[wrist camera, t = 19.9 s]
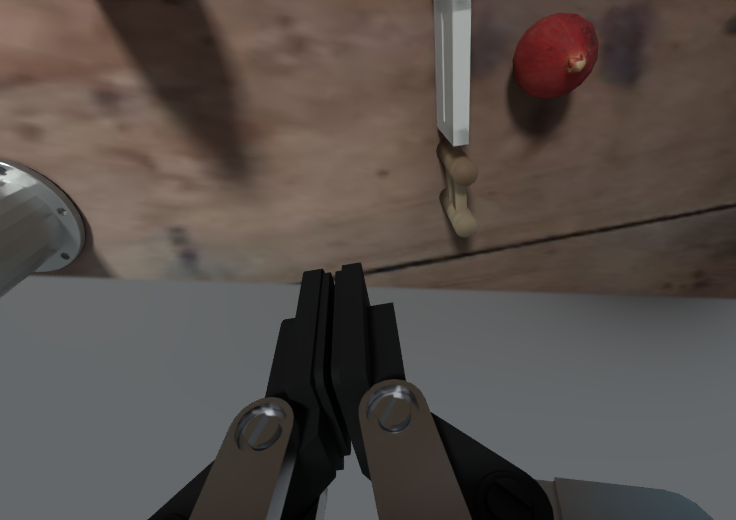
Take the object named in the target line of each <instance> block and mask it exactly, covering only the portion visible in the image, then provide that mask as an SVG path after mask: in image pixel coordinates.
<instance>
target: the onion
mask: <svg viewBox="0 0 736 520" xmlns="http://www.w3.org/2000/svg"><path fill="white" fill-rule="evenodd" d="M597 54H598V39H597V36H596V33H595V30H594V27H593V26H592V24H591V23H589V22H588V21H587V20H585V19H584V18H582V17H581V16H580V15H578V14H568V13H556V14H554V15H551V16H549V17H546V18H543V19H541V20H539V21H538V22H537V23H535V24H534V25H533V26H532V27H531V28H529V29H528V30H527V31H526V32H525V34H524V35H523V37H522V38H521V40H520V41H519V43H518V44H517V47H516V51H515V54H514V58H513V72H514V76H515V78H516V80H517V82H518V84H519V86H520V87H521V88H522V89H523V90H525V91H526V92H527V93H529V94H530V95H531V96H534V97H541V98H547V99H551V98H554V97H558V96H561V95H565V94H568V93H569V92H571V91H572V90H573V89H575V88H576V87H578V86H579V85H581V84H582V82H583V81H584V80H585V79H586V78H587V76H588V75H589V74H590V73H591V71H592V69H593V67H594V65H595V62H596V60H597Z"/></svg>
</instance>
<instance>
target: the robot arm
mask: <svg viewBox="0 0 736 520" xmlns="http://www.w3.org/2000/svg"><path fill="white" fill-rule="evenodd" d="M84 244H85V230H84V225H83V222H82V219H81V217H80V214H79V213H78V211H77V210H76V208H75V206H74V205H73V203H72V202H71V201H70V200H69V199H68V197H67V196H66V195H65V194H64V193H63V192H62V191H61V190H60V189H59V188H58V187H57V186H56V185H54V184H53V183H52V182H51V181H49V180H48V179H46V178H45V177H43V176H42V175H41V174H39V173H37V172H35V171H33V170H32V169H30V168H28V167H26V166H23V165H21V164H18V163H16V162H13V161H10V160H6V159H2V158H0V298H1V297H2V296H4V295H5V294H6V293H7V292H9V291H10V290H11V289H12V288H14V287H15V286H16V285H17V284H18V283H20V282H21V281H22V280H24V279H25V278H26V277H27V276H29V275H30V274H31V273H32V272H49V271H54V270H58V269H61V268H63V267H65V266H67V265H68V264H70V263H71V262H72V261H73V260H74V259H75V258H77V256H78V255H79V254H80V253H81V251H82V249H83V246H84ZM351 441H352V444H353V447H354V450H355V453H356V456H357V459H358V462H359V465H360V468H361V471H362V473H363V474H364V475H365V476H366V477H367V478H368V479H369V480H371V482H372V487H373V492H374V496H375V502H376V507H377V512H378V517H379V520H713V518H712V517H711V516H709V515H708V514H707V513H706V512H705V511H704V510H703V509H702V508H700V507H699V506H698V505H697V504H696V503H694V502H692V501H691V500H689V499H687V498H685V497H684V496H682V495H680V494H677V493H674V492H670V491H666V490H663V489H662V490H661V489H654V488H644V487H636V486H627V485H618V484H609V483H600V482H592V481H583V480H574V479H565V478H557V477H555V478H554V482H553V481H544V480H535V479H533V478H532V477H531V476H530V475H528V474H527V473H526V472H524V471H523V470H521V469H520V468H518V467H516V466H515V465H513V464H512V463H510V462H509V461H507V460H505V459H504V458H502V457H501V456H499V455H498V454H496V453H494V452H493V451H491V450H490V449H488V448H486V447H485V446H483V445H482V444H480V443H479V442H477V441H475V440H474V439H472V438H471V437H469V436H468V435H466V434H465V433H463V432H461V431H460V430H458V429H457V428H455V427H453V426H452V425H450V424H449V423H447V422H446V421H444V420H443V419H441V418H439V417H438V416H436V415H435V414H433V413H432V412H430V410H429V407H428V405H427V402H426V399H425V397H424V396H423V394H422V392H421V391H420V390H419V389H418V388H417V387H416V386H415V385H413V384H412V383H409V382H407V381H406V379H405V373H404V367H403V360H402V354H401V348H400V342H399V336H398V330H397V324H396V317H395V311H394V306H393V303H387V304H381V305H374V306H370V302H369V298H368V293H367V288H366V284H365V279H364V274H363V269H362V265H361V262H360V263H354V264H348V265H342V271H336V273H335V285H334V281H333V277H332V274H331V273H330V272H329V273H325V272H324V270H323V269H317V270H311V271H305V272H304V273H303V277H302V283H301V289H300V295H299V300H298V306H297V311H296V317H295V318H291V319H285V320H283V321H282V323H281V327H280V332H279V336H278V340H277V345H276V350H275V354H274V359H273V364H272V368H271V372H270V377H269V382H268V386H267V391H266V396H265V398H262V399H259V400H257V401H254V402H252V403H251V404H249V405H248V406H246V407H245V408H244V409H242V410H241V411H240V412H239V414H238V415H237V416H236V417H235V418H234V420H233V422H232V423H231V425H230V427H229V429H228V431H227V434H226V436H225V438H224V440H223V443H222V445H221V447H220V450H219V452H218V454H217V456H216V459H215V460H214V461H213V462H212V463H211V464H209V465H208V466H207V467H206V468H205V469H204V470H203V471H202V472H201V473H199V474H198V475H197V476H196V477H195V478H194V479H193V480H192V481H190V482H189V483H188V484H187V485H186V486H185V487H184V488H183V489H181V490H180V491H179V492H178V493H177V494H176V495H175V496H174V497H173V498H171V499H170V500H169V501H168V502H167V503H166V504H165V505H164V506H163V507H162V508H160V509H159V510H158V511H157V512H156V513H155V514H154V515H152V516H151V517H150V518H149V519H148V520H323V519H324V513H325V508H326V502H327V487H328V485H329V484H330V483H331V482H332V481H333V480H334V479H335V477H336V470H343V469H344V456H346V455H350V454H351Z"/></svg>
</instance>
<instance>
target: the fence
mask: <svg viewBox="0 0 736 520" xmlns="http://www.w3.org/2000/svg"><path fill="white" fill-rule="evenodd" d="M436 152H437V155H438V157H439V158H440V160H441V161H442V163H443V164H444V166H445V171H446V188H445V189H444V190H443V191H442V192H441V193H440V196H439V199H440V202H441V204H442V206H443V207H444V209H445V211H446V213H447V215H448V217H449V219H450V221H451V223H452V225H453V227H454V229H455V231H456V233H457V234H458V235H459V236H460V237H463V238H466V237H470V236H472V235H474V234H475V233H476V231H477V229H478V223H477V221H476V220H475V218H474V217H473V215H472V214H471V212H470V210H469V209H468V207H467V192H466V186H469V185H471V184H472V183H474V182H475V180H476V179H477V176H478V169H477V167H476V166H475V165H474V164H473V163H472V161H471V160H470V159H469V158H468V157H467V156H466V155H465V153H464V152H463V151H462V150H461V149H460V148H459V147H458V146H453V145H452V144H451V143H450V142H449V141H448V139H446V140H443V141H441V142H440V143H439V144H438V146H437V150H436Z"/></svg>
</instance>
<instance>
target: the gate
mask: <svg viewBox="0 0 736 520" xmlns="http://www.w3.org/2000/svg"><path fill="white" fill-rule="evenodd" d="M433 1H434V34H435V68H436V102H437V127H438V129H439V130H440V131H441V132H442V133H443V135H444V136H445V137H446V138H447V139H448V141H449V142H450V143H451V144H452V145H453V146H460V145H466V144H469V96H470V36H471V0H433Z"/></svg>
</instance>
